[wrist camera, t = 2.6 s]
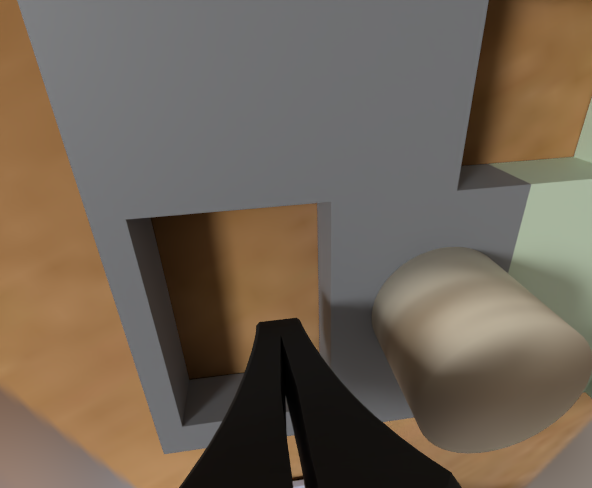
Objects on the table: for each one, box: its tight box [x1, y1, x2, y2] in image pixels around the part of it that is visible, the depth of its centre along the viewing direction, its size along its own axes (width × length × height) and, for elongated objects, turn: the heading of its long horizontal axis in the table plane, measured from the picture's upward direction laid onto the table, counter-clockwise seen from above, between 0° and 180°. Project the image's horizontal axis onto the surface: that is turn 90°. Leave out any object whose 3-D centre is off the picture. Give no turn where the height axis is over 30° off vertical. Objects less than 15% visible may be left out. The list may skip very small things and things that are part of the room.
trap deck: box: [17, 0, 592, 454], centre depth 13 cm, size 17×20×4 cm
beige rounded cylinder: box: [372, 247, 592, 453], centre depth 12 cm, size 5×5×4 cm
